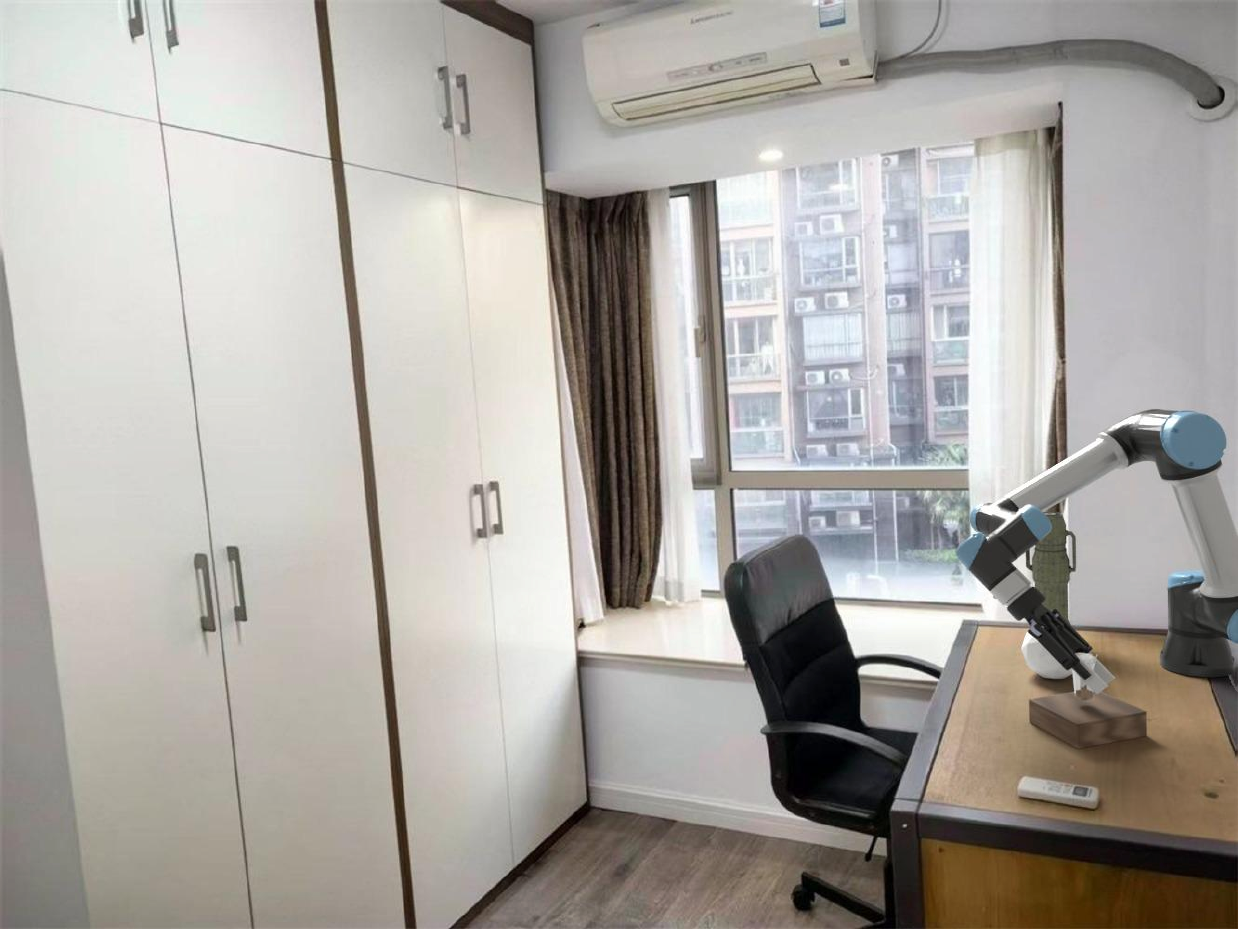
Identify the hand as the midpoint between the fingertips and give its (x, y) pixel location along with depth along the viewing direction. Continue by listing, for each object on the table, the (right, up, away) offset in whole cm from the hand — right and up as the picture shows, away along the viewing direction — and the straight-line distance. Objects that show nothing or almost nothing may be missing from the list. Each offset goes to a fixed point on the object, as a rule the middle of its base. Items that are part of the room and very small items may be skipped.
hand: (1105, 685), depth 179 cm
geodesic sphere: (+5, -6, +33) cm, 34 cm away
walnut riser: (-2, -10, +4) cm, 11 cm away
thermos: (+16, -3, +54) cm, 57 cm away
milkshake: (-3, -3, +3) cm, 5 cm away
